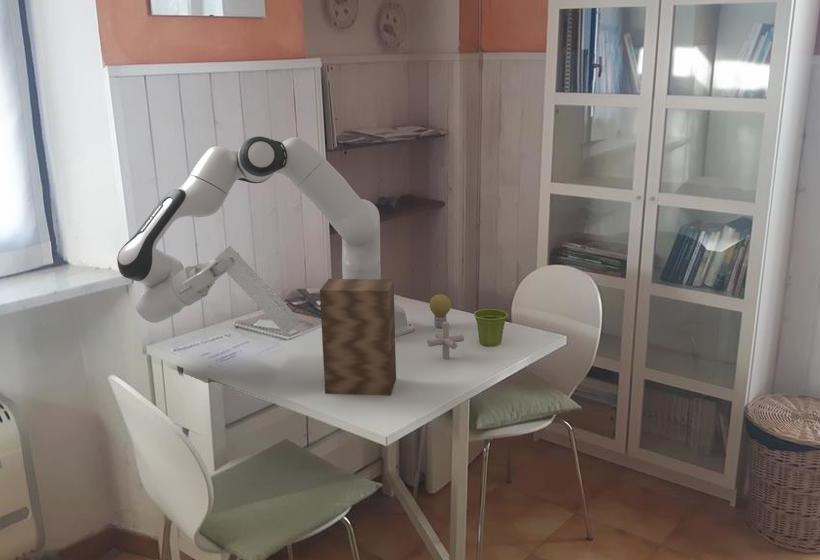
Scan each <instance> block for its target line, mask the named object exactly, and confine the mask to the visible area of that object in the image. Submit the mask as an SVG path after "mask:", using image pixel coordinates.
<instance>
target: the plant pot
mask: <svg viewBox="0 0 820 560" xmlns="http://www.w3.org/2000/svg"><path fill="white" fill-rule="evenodd" d="M473 316H474V317H475V321H476V325H477V333H478V342H479V344H480V345H482V346H485V347H490V346H492V347H497V346H499V345H501V343H502V340H503V333H504V328H505V322H506V320H507V317H508V316H509V313H507V312H506V311H504V310H502V309H494V308H484V309H483V308H482V309H479V310H476V311H474V312H473Z"/></svg>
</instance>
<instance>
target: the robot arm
mask: <svg viewBox="0 0 820 560" xmlns="http://www.w3.org/2000/svg"><path fill="white" fill-rule="evenodd" d="M276 173H278V174H282V175H283V176H285V177H287V178H288V179H290V181H291V182H292V184H294V185H295V186H296V187H297V188H298V189H299V190H300V191H301V192H302V193H303V194H304V195H305V197H307V198H308V200H310V201H311V202H312V203H313V204H314V206H315V207H316V208H317V209H318V210H319V211H320V213H321V214H322V215H323V217H324V218H325V219H326V220H327V222H328V223H329V224H330V225H331V226H332V227H333V229H334V230H335V231H336V232H337V233H338V234H339V236H340V237H341V241H342V242H341V244H342V245H341V246H342V247H341V249H342V250H341V271H342V272H341V273H342V279H382V274H381V273H382V272H381V271H382V270H381V221H380V220H381V218H380V216H381V215H380V212H379V209H378V207H377V206H376V205H375V204H374V203H373V202H371V201H370V200H367V199H364V198H361V197H359V195H358V194H357V193H356V191H355V190H354V189H353V188H352V186H351V185H350V184H349V183H348V181H347V180H346V179H345V178H344V176H343V175H341V173H340V172H339V171H338V170H337V169H336V168H335V167H334V166H333V165H332V164H331V163H330V162H329V161H328V159H326V158H325V157H324V156H323V155H322V154H321V153H320V152H319V151H318V150H316V149H315V148H314V147H313V146H312V145H311V144H309V143H308V142H306V141H305V140H304V139H302V138H301V137H296V136H295V137H293V136H292V137H290V138H286V139H285V140H283V142H282V141H279V140H276V139H275V140H274V139H271V138H270V137H269V138H268V137H265V136H259V135H257V136H253V137H251V138H248V139H247V140H245V141H244V143H243V144H242V145H241V147H240V148H239V149H238V150H230V149H228V148H226V147H223V146H217V145H215V146H212V147H209V148H207V150H206V151H205V152H204V154H203V155H202V156H201V157H200V159H199V160H198V162H197V163H196V164H195V166H194V167H193V169H192V170H191V172H190V174H189V176H188V178H187V179H186V180H185V182H184V183H183V184H181V186H179V187H178V188H176V189H172V190H170V191H169V192H168V193H166V195H164V196H163V198H162V199H161V200H160V201H159V203H158V204H157V205H156V206H155V208H154V209H153V211H151V213H150V214H149V216H147V218H146V219H145V221H144V222H143V224H142V225H141V226H140V227H139V229H138V230H137V231H136V233H135V234H134V235H133V236H132V237H131V238H130V239H129V240H128V241H127V242H126V243H125V244H124V245H123V246H122V247H121V249H119V252H118V254H117V257H116V260H117V267H118V271H119V273H120V274H121V275H122V277H123V278H126V279H129V280H132V281H135V282H139V283H140V284H143V290H142V293H141V295H140V297H139V298H138V299H137V300H136V301H135V303H134V306H135V309H136V311H137V313H138V315H139V316H140V317H141V318H142V319H143V320H145V321H147V322H150V323H152V324H156V323H161V322H163V321H167V320H168V319H170V318H172V317H173V316H175V315H177V314H178V313H180V312H181V311H182V310H183V309H184V308H186V307H190V306H192V305H194V304H195V303H197V302H198V301H201V300H202V299H203V298H205V297H207V296H208V294H209V292H210V290H211V288H212V287H213V286H214V284H215V282H216V281H217V280H218V279H219V278H221V277H222V276H223V275H224V274H225V273H226V271H225V269H226V268H228V267H229V266H231V265H232V264H233V263H234V261H233V260H232V258H228V259H227V260H225V261H223V262H221V263H219V264H218V263H217V262H216V261H215V260H214V259H215V258H213V259H211V260H208V261H207V262H205V263H199V264H196V265H192V266H191V265H188V266H186V267H184V266H183V264H182V262H181V261H180V260H178V258H175V257H174V256H171V255H170V254H169V253H166V252H164V251H162V250H160V249H158V248H157V245H158V243H159V242H160V241H161V239H162V238H163V236H164V235H165V234H166V232H167V231H168V230H169V228H170V227H171V226H172V225H173V224H174V222H175V221H177V220H178V219H180V218H185V217H195V218H206V217H209V216H212V215H214V214H216V213H217V212H218V211H219V210H220V209H221V208H222V206H223V204H224V203H225V201H226V199H227V197H228V195H229V193H230V191H231V190H232V187H233V186H234V185H235V183H236V182H237V181H240V182H241V181H242V182H245V183H251V184H261V183H264V182H267V180H269V179H270V178H271V177H273V176H274V174H276ZM237 253H238V254H239V255H240V253H239V252H237ZM240 257H241V255H240ZM241 258H242V257H241ZM394 316H395V338H397V337H400V336H403V335H406V334H409V333H411V332H414V331H415V330H416V329H415V325H414V324H413V323H412V322H410V321H408V319H407V315H406V312H405V310H404V308H403V307H401V305H399V304H398V303H396V302H394Z"/></svg>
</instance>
